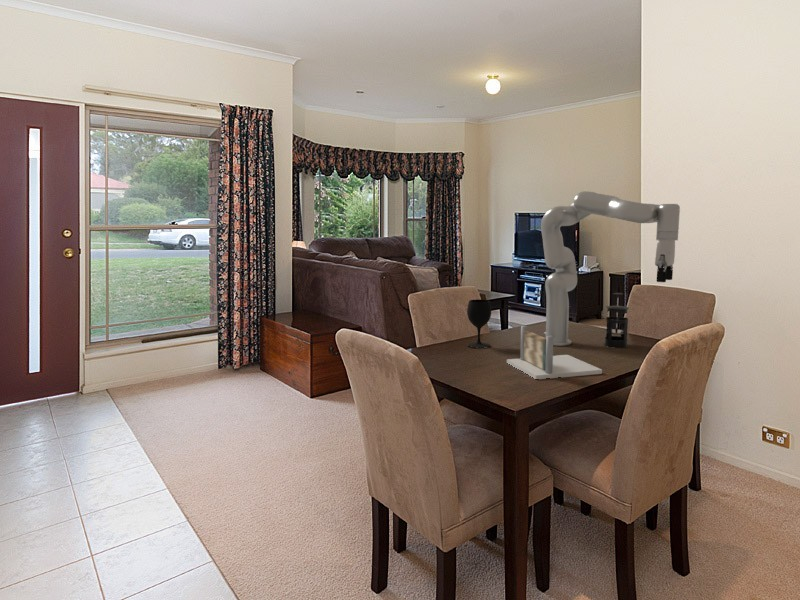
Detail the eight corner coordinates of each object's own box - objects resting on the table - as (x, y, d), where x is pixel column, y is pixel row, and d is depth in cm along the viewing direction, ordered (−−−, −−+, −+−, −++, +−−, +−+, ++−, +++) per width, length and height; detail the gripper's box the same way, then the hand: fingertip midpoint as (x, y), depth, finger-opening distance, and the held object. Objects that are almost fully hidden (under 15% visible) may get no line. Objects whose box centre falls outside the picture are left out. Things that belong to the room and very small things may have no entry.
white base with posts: (506, 363, 212) (507, 326, 210) (567, 358, 219) (568, 322, 217) (535, 379, 190) (536, 338, 188) (601, 373, 197) (603, 333, 194)
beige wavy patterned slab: (523, 359, 210) (523, 331, 208) (527, 359, 210) (528, 330, 209) (544, 370, 195) (544, 339, 193) (548, 369, 195) (549, 339, 193)
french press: (617, 349, 232) (619, 295, 229) (598, 345, 240) (600, 292, 237) (634, 345, 239) (637, 293, 235) (615, 341, 246) (618, 290, 243)
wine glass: (464, 347, 239) (464, 302, 236) (470, 342, 249) (470, 298, 246) (487, 349, 235) (488, 303, 232) (493, 344, 245) (493, 299, 242)
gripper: (662, 235, 220) (659, 278, 223) (650, 237, 207) (647, 282, 210) (683, 235, 216) (680, 279, 218) (672, 237, 202) (669, 283, 205)
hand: (664, 280), depth 214 cm, fingers open, 9 cm apart
